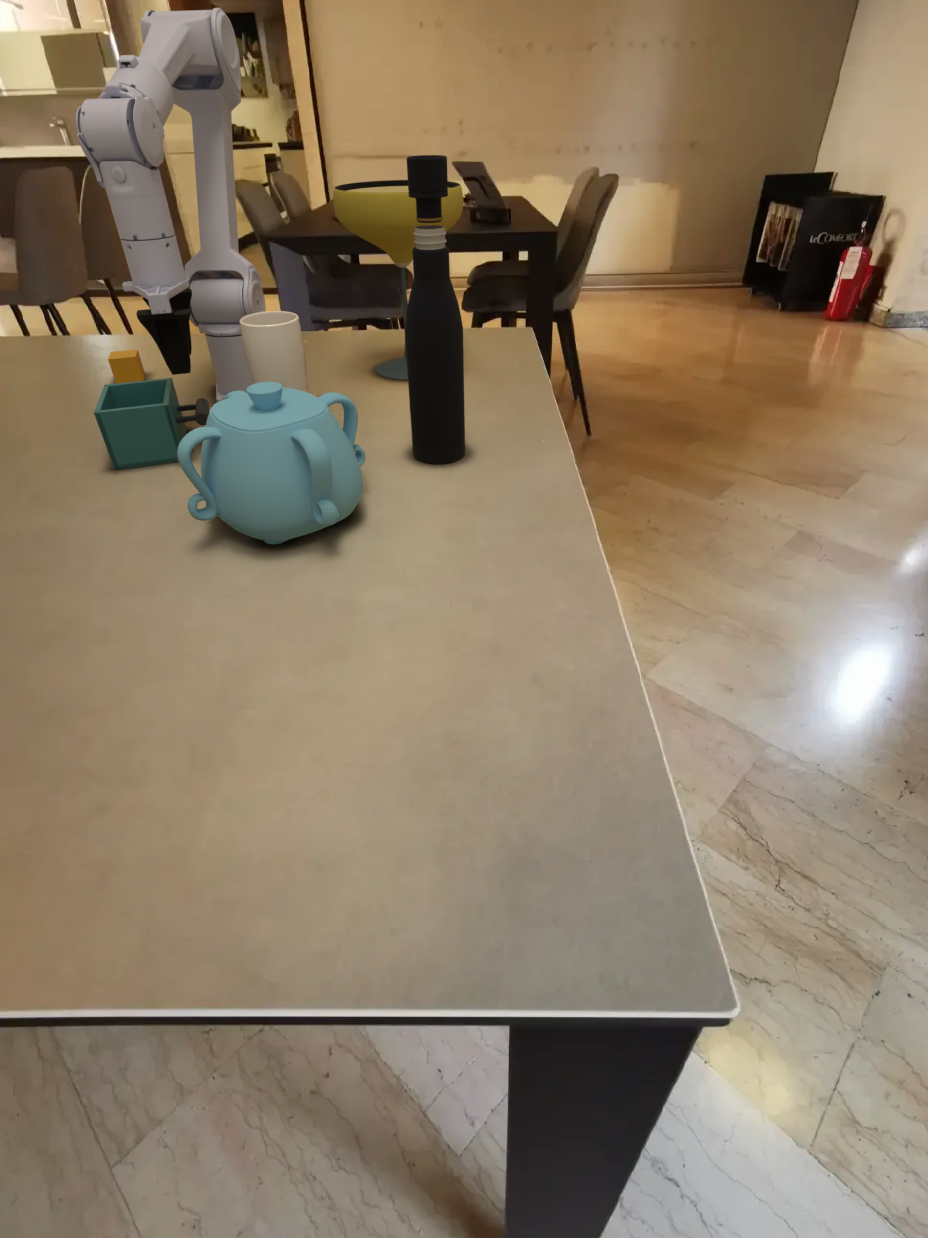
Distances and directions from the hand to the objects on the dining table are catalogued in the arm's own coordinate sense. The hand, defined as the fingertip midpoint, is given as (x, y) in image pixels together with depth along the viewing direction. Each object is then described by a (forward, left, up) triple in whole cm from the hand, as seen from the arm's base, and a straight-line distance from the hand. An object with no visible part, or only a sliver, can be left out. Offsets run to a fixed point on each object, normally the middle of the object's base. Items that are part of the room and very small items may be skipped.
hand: (182, 363), depth 81 cm
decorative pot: (-9, +25, -10) cm, 28 cm away
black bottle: (-28, +15, -10) cm, 33 cm away
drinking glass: (-11, +6, -10) cm, 16 cm away
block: (+11, -28, -9) cm, 31 cm away
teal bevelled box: (+4, +2, -9) cm, 10 cm away
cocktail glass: (-32, -18, -10) cm, 38 cm away
